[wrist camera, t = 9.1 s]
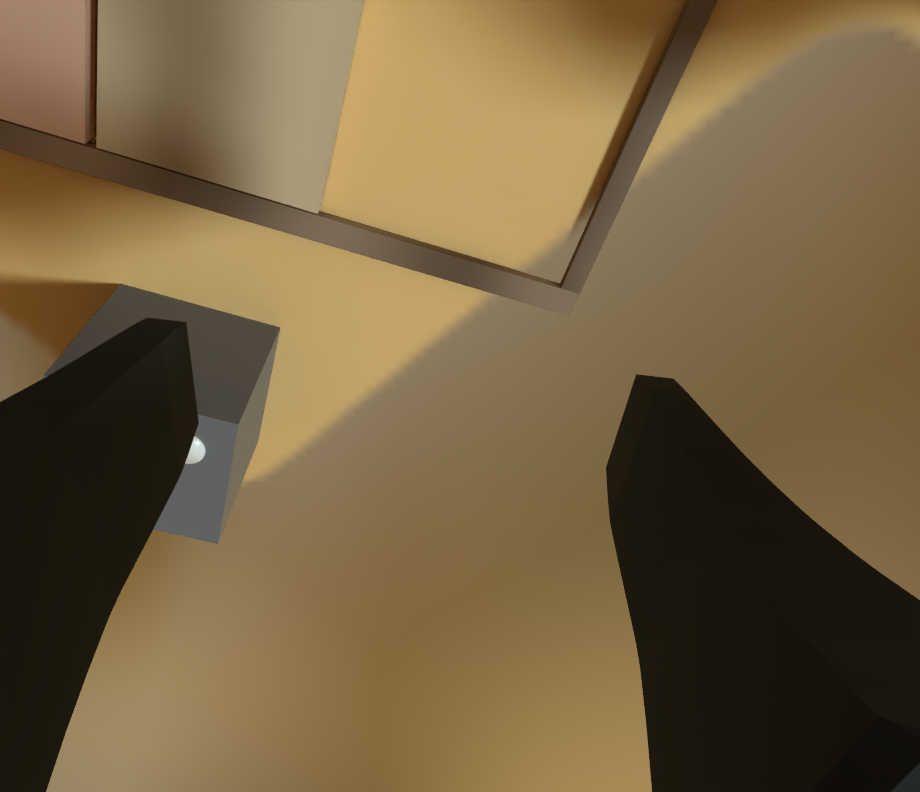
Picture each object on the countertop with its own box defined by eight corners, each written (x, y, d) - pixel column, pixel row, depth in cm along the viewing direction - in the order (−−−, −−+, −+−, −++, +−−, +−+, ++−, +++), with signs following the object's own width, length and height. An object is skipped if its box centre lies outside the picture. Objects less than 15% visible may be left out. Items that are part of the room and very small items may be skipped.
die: (280, 326, 24) (237, 426, 20) (258, 438, 27) (217, 545, 22) (121, 282, 23) (42, 376, 19) (116, 402, 26) (47, 507, 22)
